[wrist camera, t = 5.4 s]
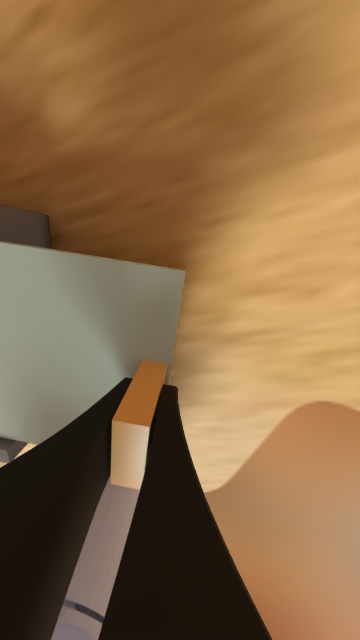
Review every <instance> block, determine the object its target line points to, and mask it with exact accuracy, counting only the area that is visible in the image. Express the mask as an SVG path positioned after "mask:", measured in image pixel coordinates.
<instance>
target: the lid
mask: <svg viewBox="0 0 360 640" xmlns="http://www.w3.org/2000/svg"><path fill="white" fill-rule="evenodd" d="M185 275H186V270H181V269H175V268H169V267H162V266H156V265H150V264H143V263H137V262H131V261H125V260H118V259H112V258H106V257H99V256H93V255H87V254H80V253H74V252H68V251H62V250H55V249H49V248H43V247H36V246H30V245H24V244H17V243H11V242H5V241H0V437H2V438H7V439H12V440H17V441H22V442H27V443H32V444H37V445H39V444H40V443H42V442H43V441H45V440H46V439H48V438H49V437H51V436H52V435H54V434H55V433H57V432H58V431H59V430H61V429H62V428H64V427H65V426H66V425H68V424H69V423H70V422H72V421H73V420H74V419H76V418H77V417H78V416H80V415H81V414H82V413H84V412H85V411H86V410H88V409H89V408H90V407H91V406H92V405H94V404H95V403H96V402H97V401H99V400H100V399H101V398H102V397H103V396H105V395H106V394H107V393H108V392H109V391H110V390H111V389H113V388H114V387H115V386H116V385H117V384H118V383H119V382H120V381H121V380H122V379H124V378H125V377H127V378H132V379H133V380H132V382H131V384H130V386H129V388H128V390H127V392H126V394H125V396H124V397H123V399H122V401H121V403H120V405H119V407H118V409H117V411H116V413H115V415H114V417H113V419H112V442H111V484H114V485H119V486H124V487H129V488H134V489H138V490H140V488H141V484H142V481H143V477H144V473H145V469H146V465H147V462H148V458H149V454H150V450H151V446H152V441H153V436H154V429H155V422H156V415H157V409H158V402H159V395H160V392H161V389H162V386H163V384H165V385H169V381H170V374H171V368H172V361H173V354H174V348H175V341H176V335H177V328H178V321H179V315H180V308H181V302H182V295H183V288H184V282H185Z"/></svg>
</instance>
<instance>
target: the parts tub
mask: <svg viewBox="0 0 360 640" xmlns="http://www.w3.org/2000/svg"><path fill="white" fill-rule="evenodd" d="M0 241H5V242H11V243H17V244H24V245H30V246H36V247H43V248H49V249H51V241H50V230H49V219H48V216H47V215H43V214H38V213H34V212H29V211H25V210H20V209H15V208H11V207H6V206H2V205H0ZM27 444H28V443H27V442H22V441H17V440H12V439H7V438H2V437H0V462H5V463H9V462H11V461H13V459H14V458H15V457H16V456H17V455H18V454H19V453H20V452H21V450H22V449H23V448H24V447H25V446H26V445H27Z"/></svg>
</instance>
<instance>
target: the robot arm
mask: <svg viewBox="0 0 360 640" xmlns="http://www.w3.org/2000/svg"><path fill="white" fill-rule="evenodd" d="M132 380H133V379H132V378H127V377H125V378H124V379H122V380H121V381H120V382H119V383H118V384H117V385H116V386H115V387H114V388H113V389H111V390H110V391H109V392H108V393H107V394H106V395H105V396H103V397H102V398H101V399H100V400H99V401H97V402H96V403H95V404H94V405H92V406H91V407H90V408H89V409H88V410H86V411H85V412H84V413H82V414H81V415H80V416H78V417H77V418H76V419H74V420H73V421H72V422H70V423H69V424H68V425H66V426H65V427H64V428H62V429H61V430H59V431H58V432H57V433H55V434H54V435H52V436H51V437H49V438H48V439H46V440H45V441H43V442H42V443H40V444H39V445H37V446H35V447H34V448H32V449H31V450H29V451H27V452H26V453H24V454H22V455H21V456H19V457H18V458H16V459H14V460H13V461H11V462H9V463H8V464H6V465H4V466H2V467H1V468H0V640H272V638H271V636H270V634H269V632H268V630H267V628H266V626H265V624H264V622H263V620H262V618H261V616H260V615H259V612H258V611H257V609H256V607H255V605H254V603H253V601H252V599H251V596H250V595H249V592H248V590H247V588H246V586H245V584H244V582H243V580H242V578H241V576H240V574H239V572H238V570H237V568H236V566H235V564H234V561H233V559H232V557H231V555H230V553H229V551H228V549H227V547H226V544H225V542H224V540H223V537H222V535H221V533H220V531H219V528H218V526H217V523H216V521H215V519H214V517H213V514H212V512H211V510H210V507H209V505H208V503H207V500H206V498H205V495H204V492H203V490H202V487H201V484H200V482H199V479H198V476H197V473H196V470H195V468H194V465H193V462H192V459H191V455H190V452H189V449H188V445H187V442H186V438H185V434H184V430H183V426H182V421H181V417H180V411H179V404H178V388H177V387H176V386H171V385H165V384H163V386H162V389H161V392H160V395H159V402H158V409H157V415H156V422H155V429H154V436H153V441H152V446H151V450H150V454H149V458H148V462H147V465H146V469H145V473H144V477H143V481H142V484H141V488H140V490H138V489H134V488H129V487H124V486H119V485H114V484H111V442H112V419H113V417H114V415H115V413H116V411H117V409H118V407H119V405H120V403H121V401H122V399H123V397H124V396H125V394H126V392H127V390H128V388H129V386H130V384H131V382H132Z"/></svg>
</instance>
